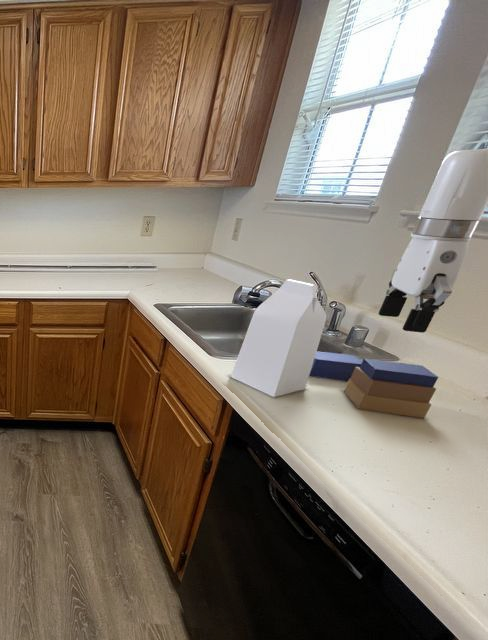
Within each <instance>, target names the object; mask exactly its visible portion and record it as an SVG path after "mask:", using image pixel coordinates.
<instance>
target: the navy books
mask: <svg viewBox="0 0 488 640" xmlns="http://www.w3.org/2000/svg"><path fill="white" fill-rule="evenodd" d="M362 362H363V360H362V359H360V358H359V357H358V356H356V355H355V354H345V353H337V352H328V351H318V350H317V351H316V355H315V358H314V361H313V364H312V368H311V371H310V374H309V377H316V378H324V379H329V380H336V381H337V380H338V381H343V382H345V381H346V382H348V381H349V379H350V378H351V376H352V374H353V372H354V369H355V367H360V366H361V364H362Z"/></svg>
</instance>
